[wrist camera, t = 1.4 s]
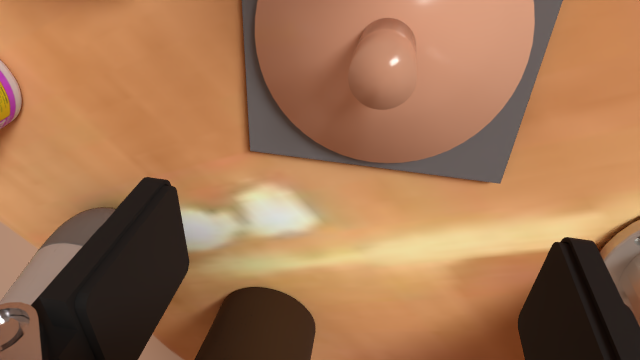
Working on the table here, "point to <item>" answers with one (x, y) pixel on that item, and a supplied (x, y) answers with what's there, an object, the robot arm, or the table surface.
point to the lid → (392, 70)
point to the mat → (459, 162)
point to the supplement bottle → (8, 96)
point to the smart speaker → (55, 255)
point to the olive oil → (259, 328)
